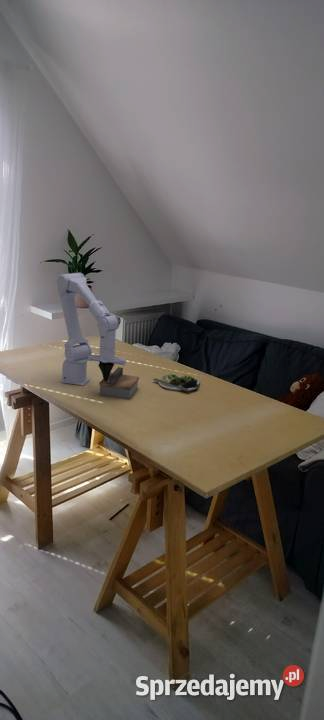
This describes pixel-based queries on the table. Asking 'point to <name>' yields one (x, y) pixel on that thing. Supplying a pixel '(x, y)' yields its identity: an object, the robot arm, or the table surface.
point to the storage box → (118, 391)
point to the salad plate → (179, 383)
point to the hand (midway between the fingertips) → (106, 380)
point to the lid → (120, 380)
